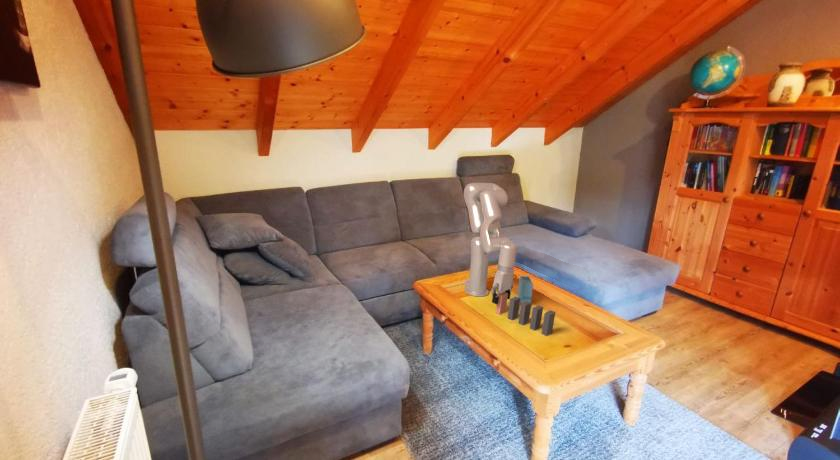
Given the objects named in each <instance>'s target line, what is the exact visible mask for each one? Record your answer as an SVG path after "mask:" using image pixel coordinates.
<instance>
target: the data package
mask: <svg viewBox="0 0 840 460" xmlns="http://www.w3.org/2000/svg"><path fill="white" fill-rule="evenodd" d="M518 281H519V282H518V289H517V297H519V298H520V304H521V303H523V302H525V301H529V302H531V303H532V296H533V288H534V283H533V282H532V280H531V278H530V276H527V275H526V276H525V275H520V276H519V280H518Z"/></svg>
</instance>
